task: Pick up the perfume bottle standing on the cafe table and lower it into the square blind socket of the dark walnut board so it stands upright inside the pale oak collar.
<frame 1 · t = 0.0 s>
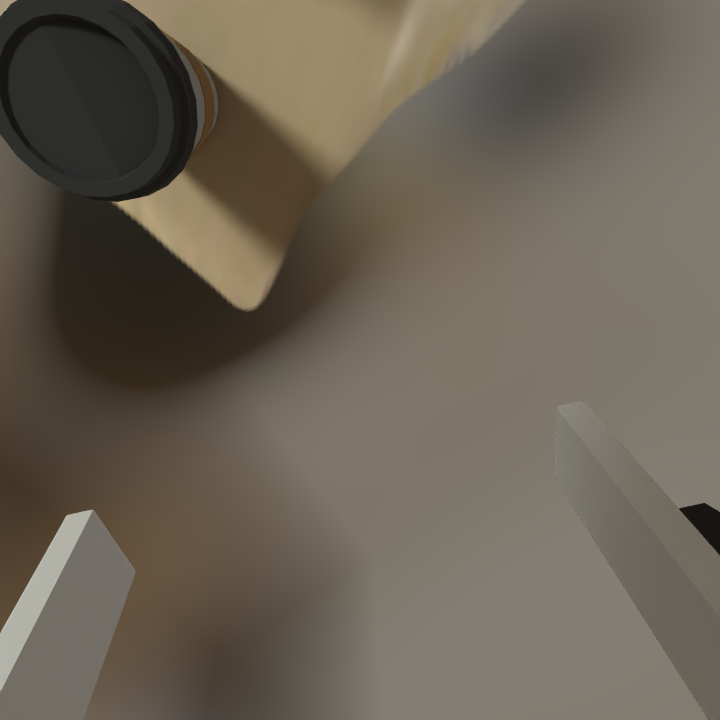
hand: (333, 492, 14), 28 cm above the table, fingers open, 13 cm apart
coffee cup: (172, 98, 33), on the table
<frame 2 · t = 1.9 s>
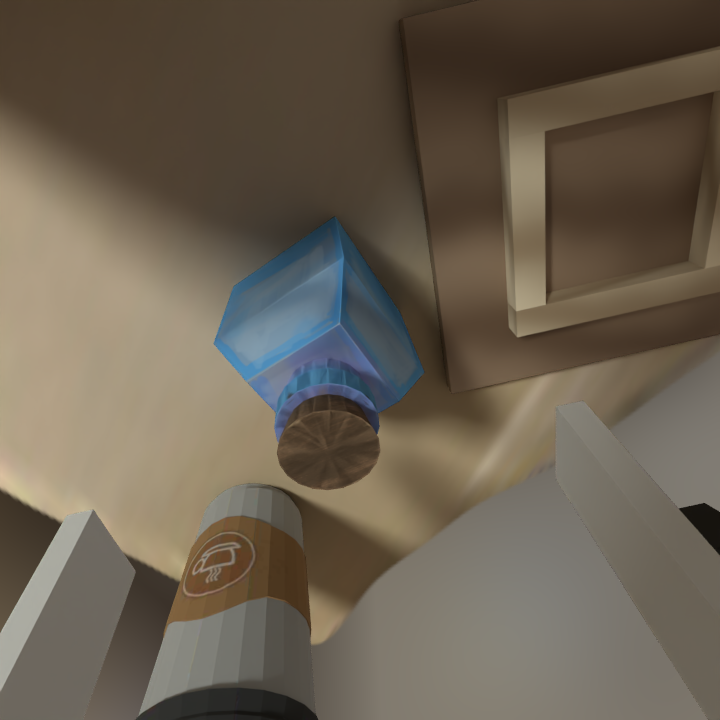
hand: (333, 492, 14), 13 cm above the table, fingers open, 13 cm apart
socket board: (606, 196, 24), on the table
coffee cup: (254, 513, 33), on the table
perfume bottle: (319, 298, 25), on the table
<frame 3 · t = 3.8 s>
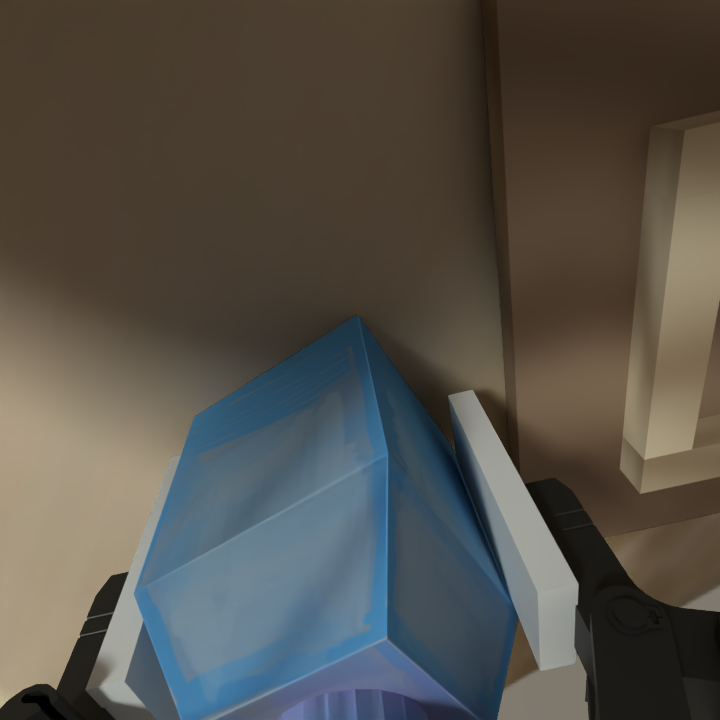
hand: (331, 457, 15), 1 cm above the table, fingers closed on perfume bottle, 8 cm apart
perfume bottle: (329, 429, 16), on the table, touching gripper
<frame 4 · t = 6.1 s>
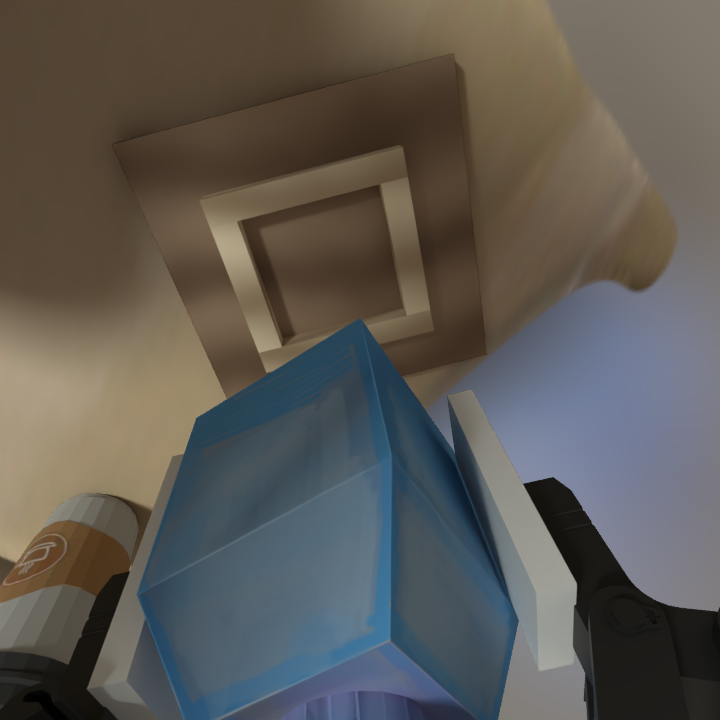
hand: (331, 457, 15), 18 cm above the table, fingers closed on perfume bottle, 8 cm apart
socket board: (326, 259, 30), on the table
coffee cup: (99, 517, 39), on the table
perfume bottle: (330, 431, 16), point 16 cm above the table, touching gripper
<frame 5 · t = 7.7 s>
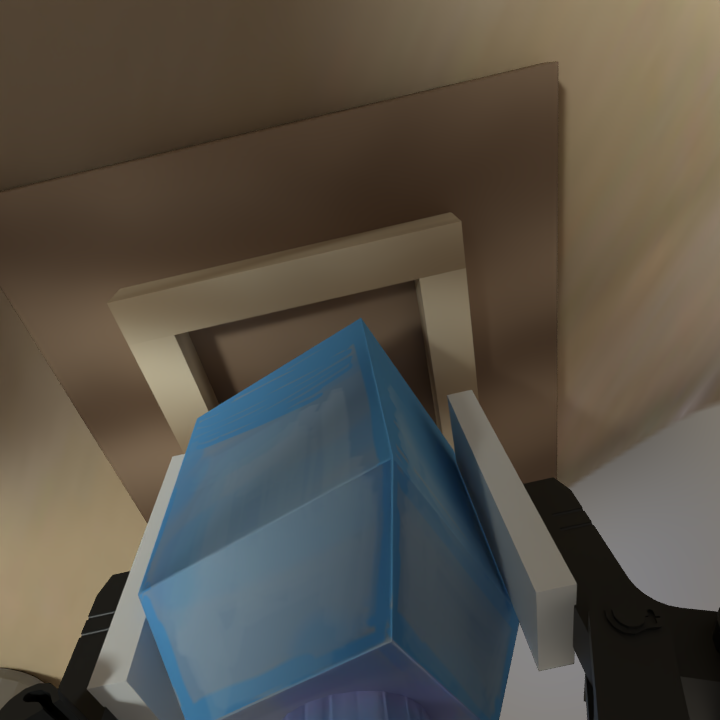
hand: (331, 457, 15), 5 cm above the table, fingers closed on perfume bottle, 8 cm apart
socket board: (323, 375, 19), on the table
coffee cup: (0, 692, 28), on the table
perfume bottle: (331, 431, 16), point 3 cm above the table, touching gripper
when the fingers open (4 cm above the table, at t = 8.6 s): perfume bottle drops 2 cm, resting on socket board.
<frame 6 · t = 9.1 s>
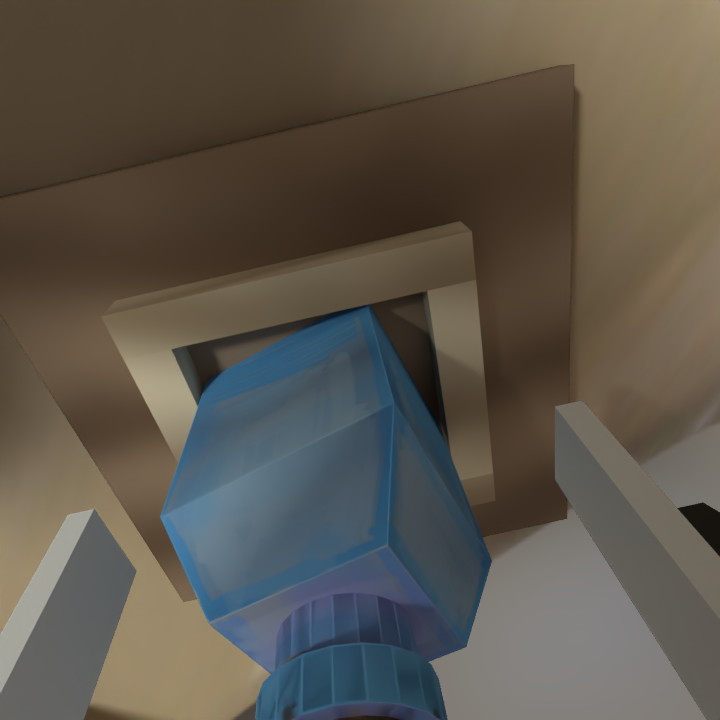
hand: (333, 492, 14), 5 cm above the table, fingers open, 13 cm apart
socket board: (327, 388, 19), on the table
perfume bottle: (329, 400, 18), point 1 cm above the table, touching socket board
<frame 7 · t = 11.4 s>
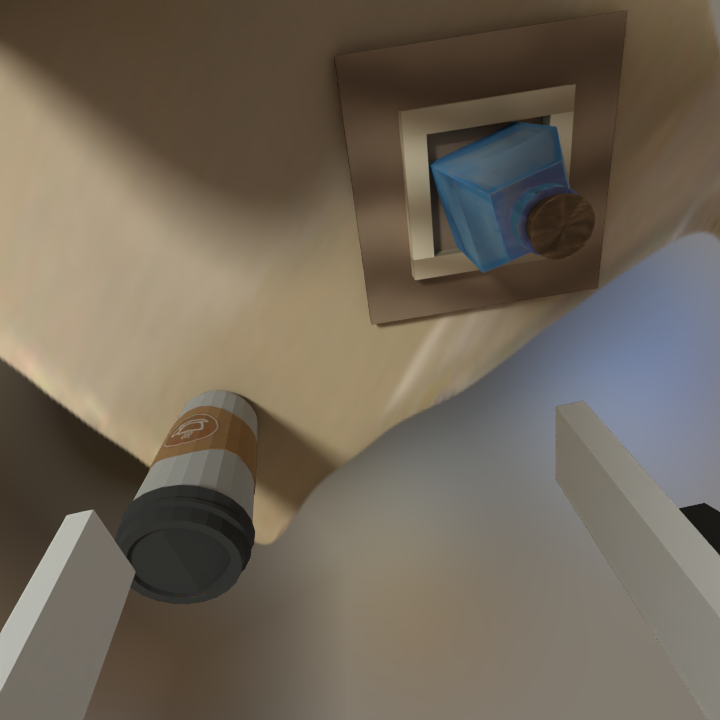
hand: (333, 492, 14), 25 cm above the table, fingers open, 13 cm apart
socket board: (479, 184, 35), on the table
coffee cup: (221, 417, 42), on the table
perfume bottle: (483, 187, 34), point 1 cm above the table, touching socket board
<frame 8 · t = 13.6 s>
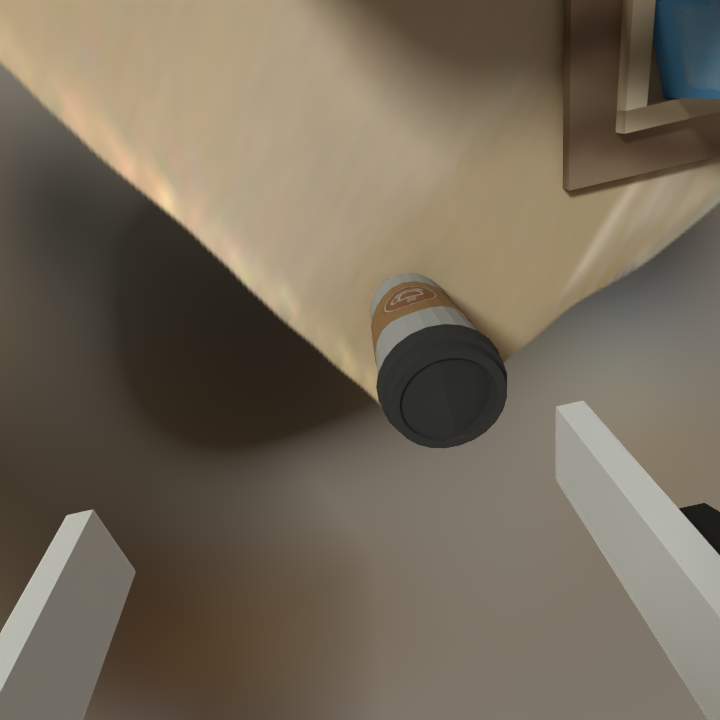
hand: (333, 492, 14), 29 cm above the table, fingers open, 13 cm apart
socket board: (689, 29, 34), on the table
coffee cup: (405, 304, 43), on the table
perfume bottle: (697, 28, 34), point 1 cm above the table, touching socket board
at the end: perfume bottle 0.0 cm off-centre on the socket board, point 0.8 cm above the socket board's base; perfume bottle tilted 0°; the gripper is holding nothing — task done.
